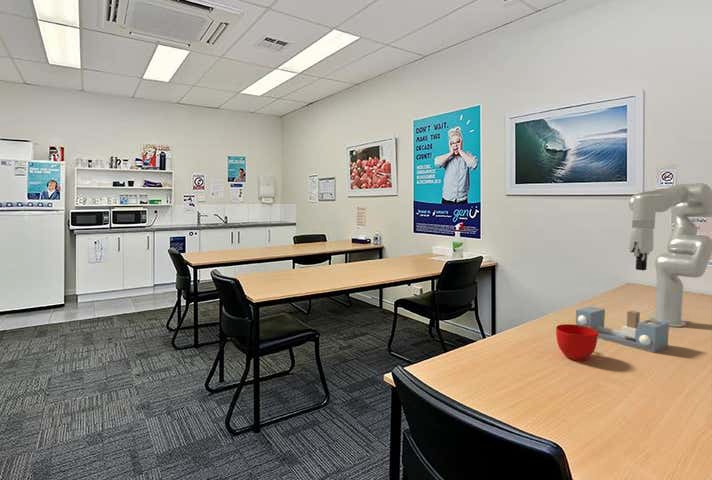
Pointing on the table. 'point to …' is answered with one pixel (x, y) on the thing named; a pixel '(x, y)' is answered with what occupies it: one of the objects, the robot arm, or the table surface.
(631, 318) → the carriage
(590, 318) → the rail bed
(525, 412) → the table surface
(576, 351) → the ceramic cup
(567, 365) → the table surface
